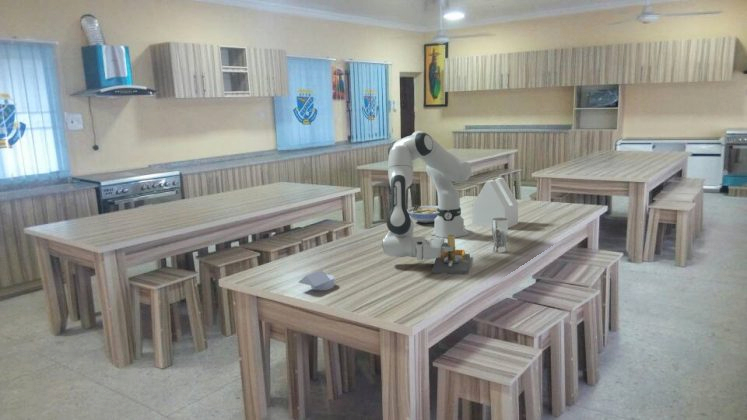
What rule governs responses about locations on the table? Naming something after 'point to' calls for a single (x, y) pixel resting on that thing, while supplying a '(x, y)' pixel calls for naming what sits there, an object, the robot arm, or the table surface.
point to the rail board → (456, 267)
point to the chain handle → (451, 252)
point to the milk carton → (495, 204)
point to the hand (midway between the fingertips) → (453, 247)
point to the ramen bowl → (423, 213)
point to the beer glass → (499, 234)
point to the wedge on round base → (319, 281)
